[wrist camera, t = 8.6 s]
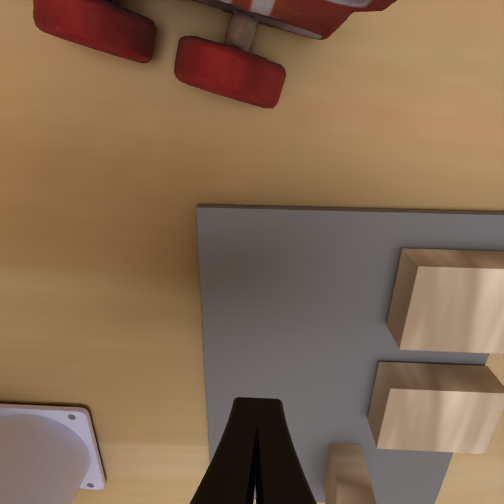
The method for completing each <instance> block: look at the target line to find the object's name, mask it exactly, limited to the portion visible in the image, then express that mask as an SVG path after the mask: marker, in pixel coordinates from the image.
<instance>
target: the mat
mask: <svg viewBox="0 0 504 504" xmlns="http://www.w3.org/2000/svg"><path fill="white" fill-rule="evenodd" d="M196 216H197V234H198V253H199V271H200V290H201V308H202V327H203V345H204V363H205V382H206V400H207V419H208V437H209V456H210V463H211V461H212V458H213V456H214V454H215V452H216V449H217V447H218V445H219V442H220V440H221V438H222V435H223V433H224V430H225V427H226V425H227V422H228V419H229V416H230V413H231V409H232V405H233V401H234V399H235V398H237V397H250V398H273V399H280V400H281V401H282V404H283V410H284V414H285V418H286V422H287V426H288V429H289V433H290V436H291V439H292V442H293V445H294V448H295V451H296V454H297V456H298V459H299V462H300V464H301V467H302V469H303V472H304V475H305V477H306V480H307V482H308V484H309V487H310V489H311V492H312V494H313V496H314V498H315V501H316V502H323V503H326V502H325V495H324V488H323V486H324V479H325V473H326V466H327V459H328V452H329V446H330V443H341V444H361V447H362V451H363V455H364V458H365V462H366V466H367V470H368V473H369V477H370V481H371V485H372V489H373V492H374V496H375V500H376V504H435V501H436V499H437V496H438V493H439V490H440V487H441V485H442V482H443V479H444V476H445V474H446V471H447V468H448V465H449V463H450V460H451V457H452V454H453V452H436V451H416V450H395V449H377V448H376V445H375V442H374V439H373V436H372V432H371V429H370V426H369V423H368V419H367V418H368V413H369V408H370V403H371V399H372V394H373V389H374V384H375V379H376V374H377V369H378V364H379V362H399V363H424V364H448V365H473V366H485V364H486V361H487V358H488V355H489V353H471V352H446V351H420V350H399V348H398V346H397V344H396V342H395V340H394V339H393V337H392V335H391V333H390V331H389V329H388V327H387V320H388V315H389V310H390V306H391V301H392V296H393V291H394V286H395V281H396V276H397V271H398V266H399V262H400V257H401V252H402V248H409V249H443V250H478V251H504V212H500V211H460V210H420V209H380V208H340V207H299V206H259V205H219V204H198V205H197V207H196ZM256 448H257V447H256ZM254 499H256V488H255V492H254Z"/></svg>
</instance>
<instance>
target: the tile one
mask: <svg viewBox="0 0 504 504" xmlns="http://www.w3.org/2000/svg"><path fill="white" fill-rule="evenodd" d="M323 488H324V495H325V502H326V504H376V500H375V496H374V492H373V489H372V485H371V481H370V477H369V473H368V470H367V466H366V462H365V458H364V455H363V451H362V447H361V444H341V443H330V446H329V452H328V459H327V466H326V473H325V479H324V486H323Z"/></svg>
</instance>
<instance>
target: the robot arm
mask: <svg viewBox="0 0 504 504" xmlns="http://www.w3.org/2000/svg"><path fill="white" fill-rule="evenodd" d="M256 447H257V448H256ZM105 483H106V480H105V476H104V472H103V468H102V464H101V460H100V456H99V452H98V448H97V443H96V439H95V435H94V431H93V427H92V423H91V419H90V415H89V412H88V410H86V409H85V408H81V407H61V406H39V405H18V404H0V504H72V502H73V500H74V498H75V496H76V494H77V491H78V489H94V490H100V489H103V488H104V486H105ZM255 488H256V504H317V503H316V501H315V498H314V496H313V494H312V492H311V489H310V487H309V484H308V482H307V480H306V477H305V475H304V472H303V469H302V467H301V464H300V462H299V459H298V456H297V454H296V451H295V448H294V445H293V442H292V439H291V436H290V433H289V429H288V426H287V422H286V418H285V414H284V410H283V404H282V401H281V400H280V399H273V398H250V397H237V398H235V399H234V401H233V405H232V409H231V413H230V416H229V419H228V422H227V425H226V427H225V430H224V433H223V435H222V438H221V440H220V442H219V445H218V447H217V449H216V452H215V454H214V456H213V458H212V461H211V463H210V465H209V467H208V469H207V471H206V473H205V475H204V477H203V479H202V481H201V483H200V485H199V487H198V489H197V491H196V493H195V495H194V497H193V499H192V500H191V502H190V504H253V501H254V492H255Z"/></svg>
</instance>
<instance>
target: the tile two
mask: <svg viewBox="0 0 504 504" xmlns="http://www.w3.org/2000/svg"><path fill="white" fill-rule="evenodd" d="M503 409H504V386H503V385H502V384H501V382H500V381H499V380H498V379H497V377H496V376H495V375H494V374H493V373H492V371H491V370H490V369H489V368H488V366H473V365H448V364H424V363H399V362H379V364H378V369H377V374H376V379H375V384H374V389H373V394H372V399H371V403H370V408H369V413H368V418H367V419H368V423H369V426H370V429H371V432H372V436H373V439H374V442H375V445H376V448H377V449H395V450H416V451H436V452H456V453H477V454H485V452H486V450H487V447H488V445H489V443H490V440H491V438H492V435H493V433H494V431H495V428H496V426H497V423H498V421H499V419H500V416H501V414H502V411H503Z"/></svg>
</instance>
